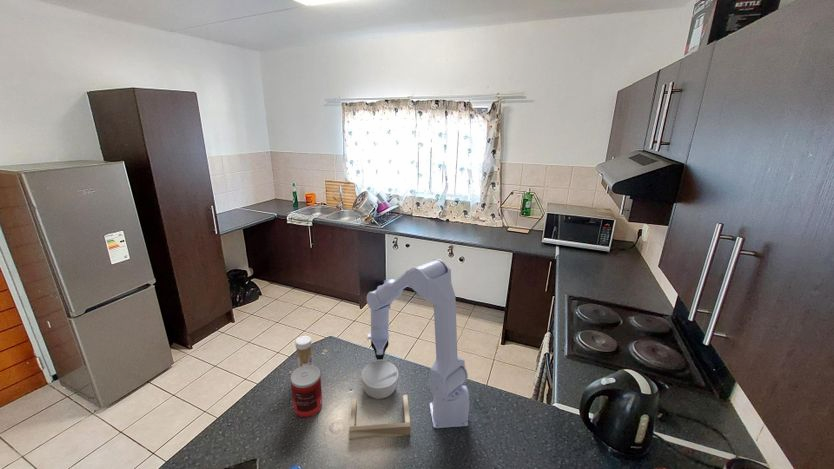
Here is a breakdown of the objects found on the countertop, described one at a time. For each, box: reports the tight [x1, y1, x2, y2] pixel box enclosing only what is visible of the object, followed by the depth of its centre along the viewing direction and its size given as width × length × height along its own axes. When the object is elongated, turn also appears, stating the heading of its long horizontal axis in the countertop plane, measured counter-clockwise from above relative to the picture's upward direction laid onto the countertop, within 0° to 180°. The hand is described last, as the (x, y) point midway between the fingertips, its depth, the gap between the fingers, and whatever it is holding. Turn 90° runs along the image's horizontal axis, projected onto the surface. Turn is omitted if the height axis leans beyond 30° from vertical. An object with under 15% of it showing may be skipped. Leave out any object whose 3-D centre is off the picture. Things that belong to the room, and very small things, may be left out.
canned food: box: [290, 364, 323, 418], centre depth 88 cm, size 8×8×11 cm
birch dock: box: [348, 394, 411, 441], centre depth 86 cm, size 10×15×3 cm, turn 96°
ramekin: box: [360, 360, 400, 400], centre depth 97 cm, size 11×11×5 cm
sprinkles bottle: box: [294, 335, 314, 368], centre depth 99 cm, size 5×5×14 cm
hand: (379, 358), depth 107 cm, fingers closed
